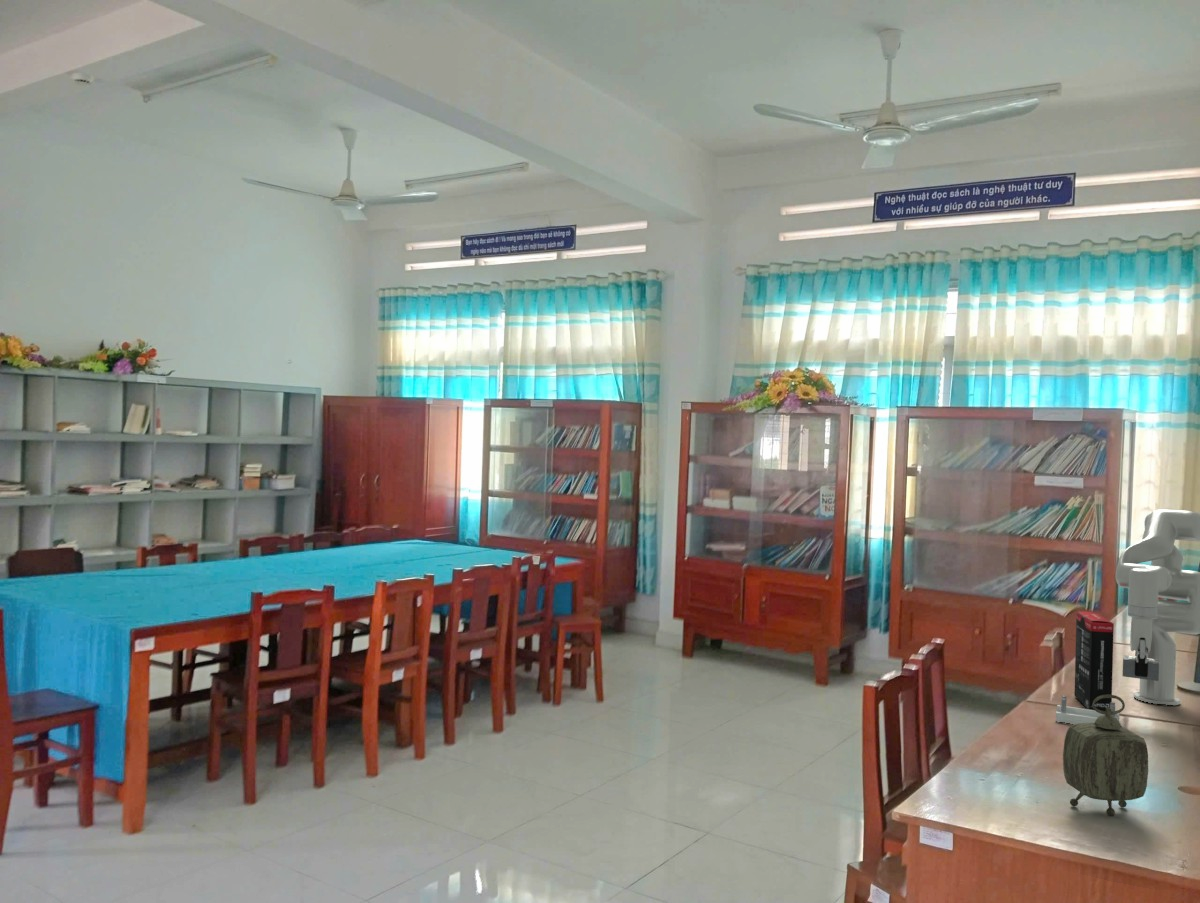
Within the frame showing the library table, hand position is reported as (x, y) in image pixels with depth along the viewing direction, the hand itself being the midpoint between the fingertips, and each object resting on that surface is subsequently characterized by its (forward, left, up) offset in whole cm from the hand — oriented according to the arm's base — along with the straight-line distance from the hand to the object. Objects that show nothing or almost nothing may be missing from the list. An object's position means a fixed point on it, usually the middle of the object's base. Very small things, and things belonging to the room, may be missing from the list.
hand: (1140, 673), depth 278 cm
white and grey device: (+11, -13, -14) cm, 22 cm away
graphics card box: (-11, -12, -14) cm, 22 cm away
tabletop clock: (+87, -9, -14) cm, 88 cm away
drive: (0, 0, -1) cm, 1 cm away
